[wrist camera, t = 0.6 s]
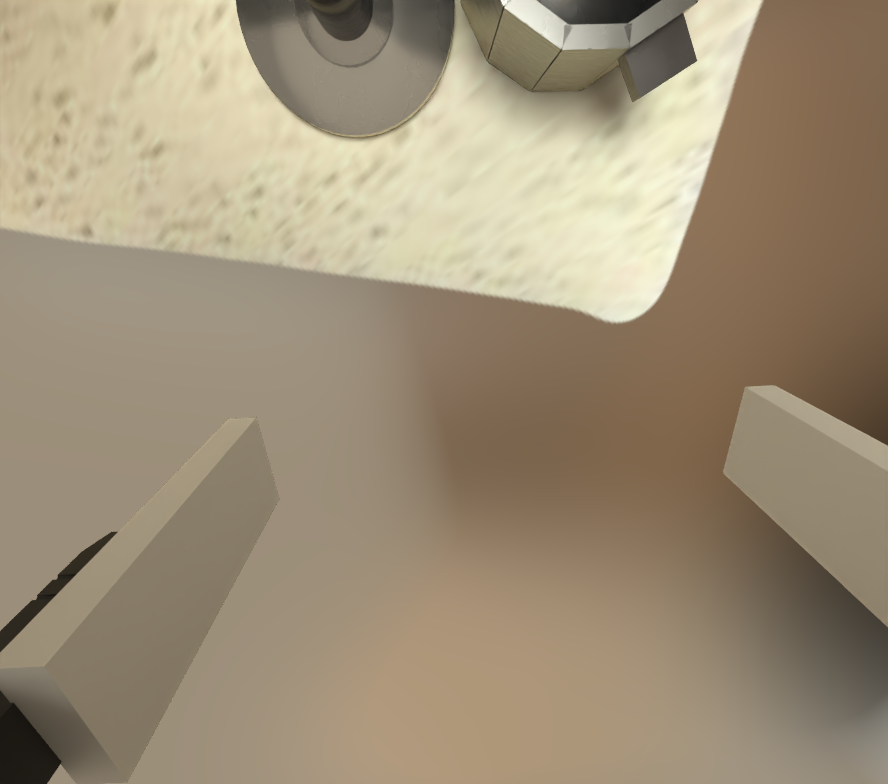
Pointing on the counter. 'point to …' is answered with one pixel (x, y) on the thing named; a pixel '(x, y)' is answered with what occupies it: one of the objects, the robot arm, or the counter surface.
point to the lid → (350, 58)
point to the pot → (583, 41)
